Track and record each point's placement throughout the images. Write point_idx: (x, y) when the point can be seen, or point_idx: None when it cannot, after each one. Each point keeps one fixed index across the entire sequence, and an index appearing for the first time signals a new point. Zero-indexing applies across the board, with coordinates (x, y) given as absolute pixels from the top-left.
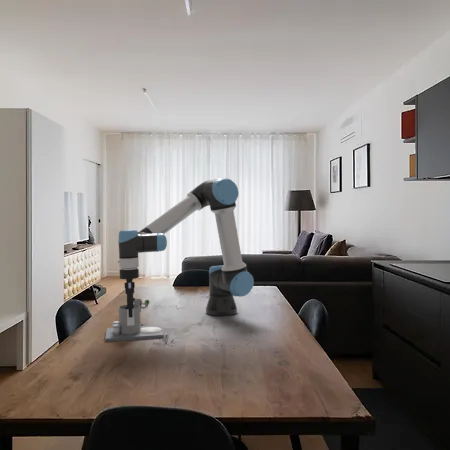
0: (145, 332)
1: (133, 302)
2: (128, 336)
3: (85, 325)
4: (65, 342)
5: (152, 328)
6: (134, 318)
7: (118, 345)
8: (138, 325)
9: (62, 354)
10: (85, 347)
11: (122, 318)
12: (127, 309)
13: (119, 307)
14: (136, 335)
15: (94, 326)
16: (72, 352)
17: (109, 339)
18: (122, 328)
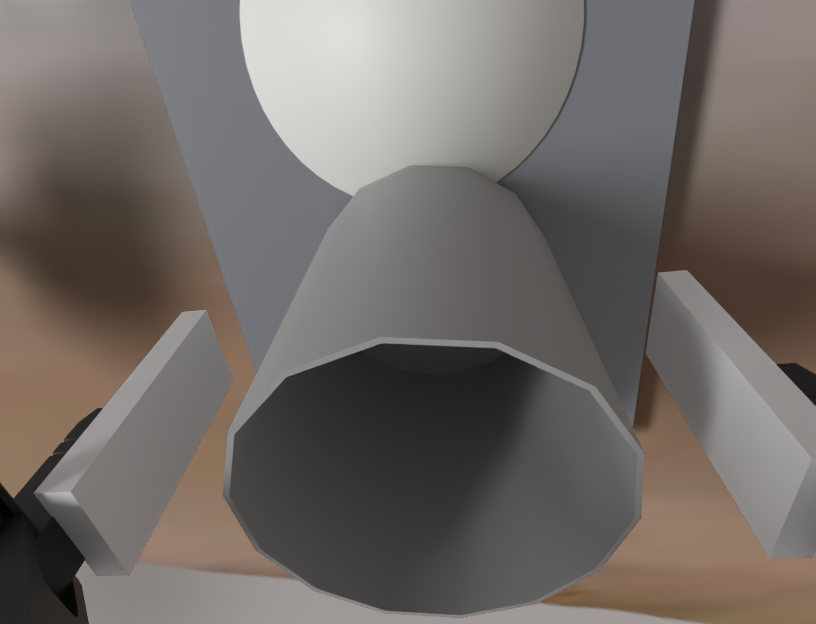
0: (518, 94)
1: (85, 473)
2: (627, 276)
3: (150, 562)
4: (549, 603)
5: (327, 2)
6: (575, 311)
7: (778, 328)
8: (505, 211)
9: (807, 590)
10: (714, 515)
11: (546, 451)
12: (810, 539)
13: (397, 598)
14: (616, 196)
15: (168, 520)
16: (794, 558)
17: (631, 413)
18: (523, 369)
